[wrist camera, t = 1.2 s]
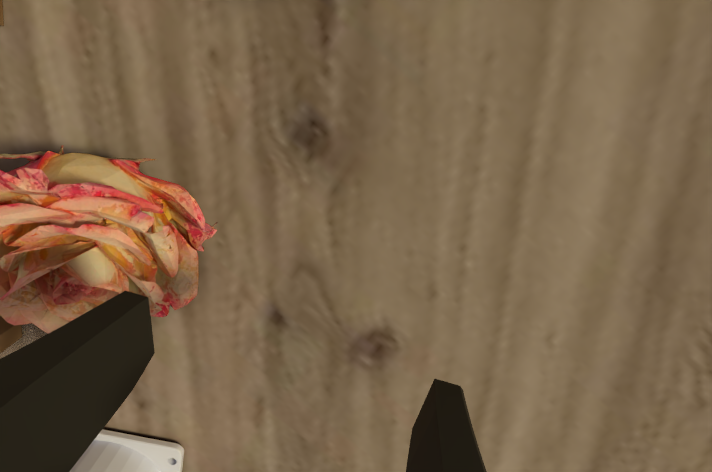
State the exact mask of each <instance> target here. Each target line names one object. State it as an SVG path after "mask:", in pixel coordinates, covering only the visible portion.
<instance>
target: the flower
mask: <svg viewBox="0 0 712 472" xmlns="http://www.w3.org/2000/svg"><path fill="white" fill-rule="evenodd" d="M63 146H64V145H62V146H61V149H60V152H59V153H58V154H57V153H54V152H52V151H47V152H42V151H39V152H34V153H28V154H12V155H11V154H0V158H6V159H12V158H13V159H16V158H20V157H24V158H27V160H29V161H30V162H29V163H28V164H26V165H24V166H22V167H19V168H16V169H14V170H12V171H9V172H7V173H5V172H3V171H1V170H0V315H1V316H2V318H3V319H4V320H5V321H6V322H7V323H10V324H12V325H14V326H15V325H23V324H30V323H33V324H34V325H36V326H37V327H39V328H40V329H41V330H43V331H44V332H46V333H48V334H49V333H50V332H52V331H54V330H56V329H58V328H60V327H61V326H63V325H65V324H67V323H69V322H70V321H72V320H74V319H76V318H77V317H79V316H81V315H83V314H84V313H86V312H88V311H90V310H91V309H93V308H95V307H97V306H99V305H100V304H102V303H104V302H106V301H107V300H109V299H111V298H113V297H115V296H116V295H118V294H120V293H122V292H124V291H129V292H132V293H136V294H139V295H143V296H146V297H148V298H149V307H150V316H157V317H164V316H167V314H168V313H169V306H170V305H171V306H172V307H173V309H174V310H177V309H179V308H181V307H183V306H185V305H187V304H188V303H189V302H190V301H191V300H193V299H194V298H195V297H196V295H197V290H198V277H199V273H198V254H197V250H199V251H204V248H203V247H202V245H201V244H202V243H203V242H204V240H206V239H209V238H211V237H212V236H213V235H214V234H215V233H216V231H217V230H216V229H214V228H213V226H214V225H215V224H214V225H213V226H210V225H209V224H207V223H205V219H204V216H203V213H202V211H201V209H200V207H199V205H198V204H197V202H196V200H195V199H194V198H193V197H192V196H191V195H190V194H189V192H188V191H186V190H185V189H184V188H183V187H181V186H180V185H178V184H175V183H171V182H167V181H164V180H160V179H157V178H153V177H150V176H147V175H144V174H142V173H141V172H140V171H139V165H140V162H144V161H150V160H156V159H147V158H144V159H125V158H104V157H100V156H96V155H91V154H84V153H68V154H64V153H63ZM29 158H31V159H29ZM217 223H218V222H217ZM217 223H216V224H217ZM184 238H185V239H186V240H185V239H184ZM196 266H197V267H196ZM162 274H163V275H162ZM161 275H162V276H161ZM163 280H164V281H163ZM191 284H192V285H193V286H192V285H191ZM176 285H177V286H176ZM193 292H194V293H193Z"/></svg>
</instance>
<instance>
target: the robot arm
mask: <svg viewBox="0 0 712 472" xmlns="http://www.w3.org/2000/svg"><path fill="white" fill-rule="evenodd" d="M153 354H154V344H153V335H152V325H151V316H150V307H149V298H148V297H146V296H143V295H139V294H136V293H132V292H129V291H124V292H122V293H120V294H118V295H116V296H115V297H113V298H111V299H109V300H107V301H106V302H104V303H102V304H100V305H99V306H97V307H95V308H93V309H91V310H90V311H88V312H86V313H84V314H83V315H81V316H79V317H77V318H76V319H74V320H72V321H70V322H69V323H67V324H65V325H63V326H61V327H60V328H58V329H56V330H54V331H52V332H50V333H49V334H47V335H45V336H43V337H41V338H39V339H38V340H36V341H34V342H32V343H30V344H29V345H27V346H25V347H23V348H21V349H19V350H17V351H15V352H13V353H11V354H9V355H7V356H5V357H3V358H1V359H0V472H182V466H183V457H184V449H183V447H182V446H181V445H179V444H177V443H172V442H167V441H162V440H156V439H151V438H146V437H141V436H135V435H130V434H125V433H119V432H114V431H109V430H104V429H103V428H104V426H105V425H106V424H107V423H108V421H109V420H110V419H111V417H112V416H113V415H114V413H115V412H116V411H117V410H118V408H119V407H120V406H121V404H122V403H123V402H124V400H125V399H126V398H127V396H128V395H129V394H130V392H131V391H132V390H133V388H134V386H135V385H136V383H137V381H138V380H139V378H140V377H141V375H142V373H143V372H144V370H145V368H146V366H147V365H148V363H149V361H150V360H151V358H152V356H153ZM173 458H174V459H173ZM406 472H486V469H485V466H484V463H483V460H482V457H481V454H480V451H479V448H478V444H477V441H476V438H475V434H474V431H473V428H472V424H471V420H470V417H469V413H468V409H467V405H466V401H465V397H464V393H463V390H462V388H461V387H460V386H458V385H455V384H451V383H448V382H444V381H441V380H437V379H434V381H433V384H432V386H431V388H430V390H429V393H428V395H427V397H426V399H425V402H424V404H423V406H422V408H421V410H420V413H419V415H418V417H417V419H416V422H415V424H414V426H413V428H412V435H411V441H410V448H409V454H408V461H407V468H406Z"/></svg>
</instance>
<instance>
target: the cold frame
mask: <svg viewBox="0 0 712 472" xmlns="http://www.w3.org/2000/svg"><path fill="white" fill-rule="evenodd" d="M0 25H2V26H4V22H3V5H2V0H0ZM21 337H22V326H21V325H15V326H14V325H12V324H10V323H7V322H6V321H5V320H4V319H3V318H2V316H0V353H1V352H3V351H4V350H5V349H7V348H8V347H9V346H11V345H12V344H13V343H14V342H16V341H17V340H18V339H20V338H21Z"/></svg>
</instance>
